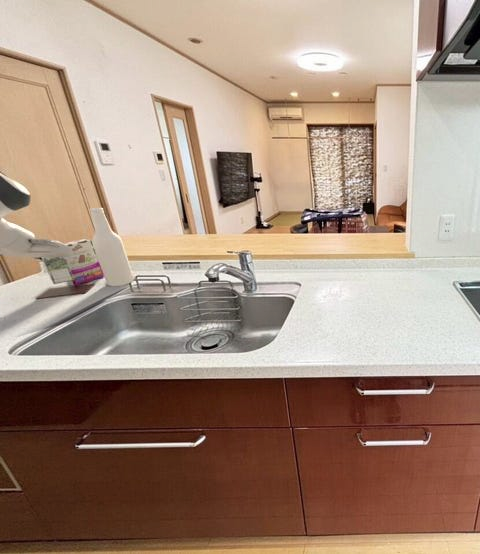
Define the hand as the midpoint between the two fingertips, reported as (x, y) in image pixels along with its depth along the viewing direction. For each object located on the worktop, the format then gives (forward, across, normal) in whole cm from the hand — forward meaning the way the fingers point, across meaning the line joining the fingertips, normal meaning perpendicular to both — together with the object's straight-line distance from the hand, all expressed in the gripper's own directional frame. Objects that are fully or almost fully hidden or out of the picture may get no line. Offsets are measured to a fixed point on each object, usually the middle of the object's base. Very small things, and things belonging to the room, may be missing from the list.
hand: (55, 259), depth 108 cm
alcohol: (+15, -14, +4) cm, 21 cm away
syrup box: (+6, 0, +6) cm, 9 cm away
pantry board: (+9, 0, +10) cm, 13 cm away
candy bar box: (+16, +2, +2) cm, 16 cm away
